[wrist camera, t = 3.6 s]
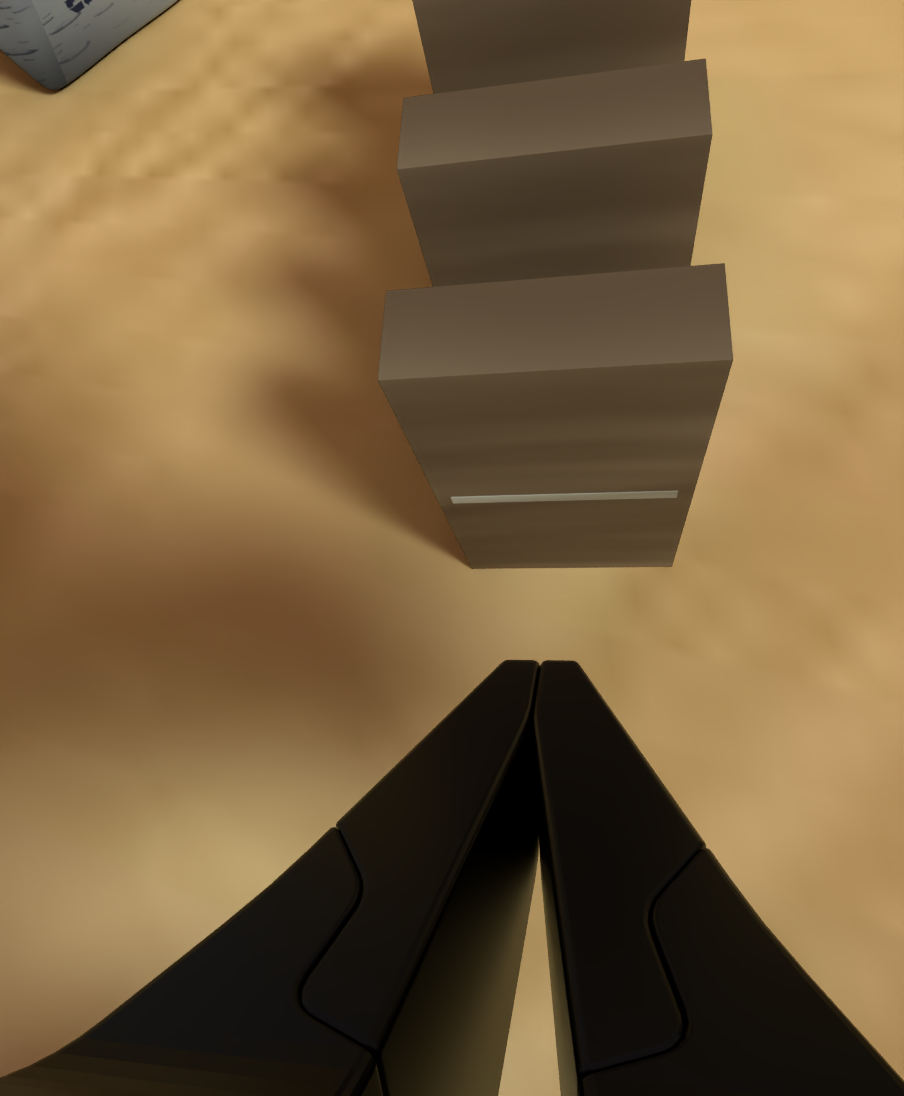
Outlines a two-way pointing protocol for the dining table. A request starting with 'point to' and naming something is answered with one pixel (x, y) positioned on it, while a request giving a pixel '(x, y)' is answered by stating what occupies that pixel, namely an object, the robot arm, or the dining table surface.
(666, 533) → the domino
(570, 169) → the domino
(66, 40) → the juice carton
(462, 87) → the domino
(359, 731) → the dining table surface
